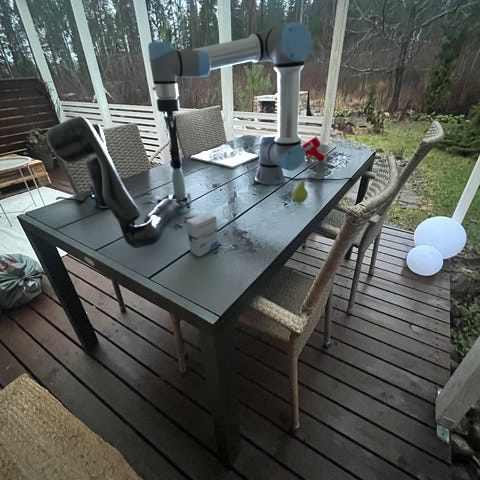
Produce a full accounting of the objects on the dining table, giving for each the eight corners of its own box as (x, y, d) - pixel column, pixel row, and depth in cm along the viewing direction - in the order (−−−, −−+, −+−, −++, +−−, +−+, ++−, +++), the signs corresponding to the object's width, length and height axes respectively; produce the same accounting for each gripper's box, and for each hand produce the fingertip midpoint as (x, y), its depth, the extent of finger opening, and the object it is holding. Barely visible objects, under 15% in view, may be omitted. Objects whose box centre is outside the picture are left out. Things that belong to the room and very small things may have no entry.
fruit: (288, 200, 123) (290, 174, 116) (302, 197, 125) (305, 172, 119) (296, 206, 118) (299, 179, 111) (310, 203, 120) (314, 177, 114)
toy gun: (328, 156, 170) (316, 135, 166) (328, 158, 166) (315, 136, 162) (303, 171, 180) (291, 152, 176) (302, 173, 176) (290, 153, 172)
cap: (178, 168, 102) (178, 162, 101) (168, 167, 103) (167, 161, 102) (183, 164, 106) (183, 159, 104) (173, 164, 107) (173, 158, 105)
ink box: (209, 241, 95) (207, 210, 88) (218, 246, 92) (217, 215, 85) (189, 251, 90) (185, 219, 83) (198, 257, 87) (195, 225, 80)
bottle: (187, 208, 117) (181, 160, 106) (188, 212, 113) (182, 163, 102) (176, 209, 116) (169, 161, 105) (177, 214, 112) (169, 164, 101)
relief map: (232, 167, 162) (232, 159, 160) (191, 158, 180) (190, 150, 177) (257, 157, 181) (258, 149, 178) (218, 149, 198) (217, 142, 196)
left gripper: (182, 204, 96) (198, 187, 110) (145, 201, 99) (165, 184, 113) (184, 223, 100) (200, 203, 114) (149, 219, 103) (168, 201, 117)
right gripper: (154, 96, 98) (164, 160, 111) (156, 101, 84) (168, 174, 96) (175, 95, 100) (183, 158, 112) (181, 100, 85) (189, 172, 98)
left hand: (182, 194), depth 113 cm, fingers closed on bottle, 4 cm apart
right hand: (176, 166), depth 104 cm, fingers open, 5 cm apart
